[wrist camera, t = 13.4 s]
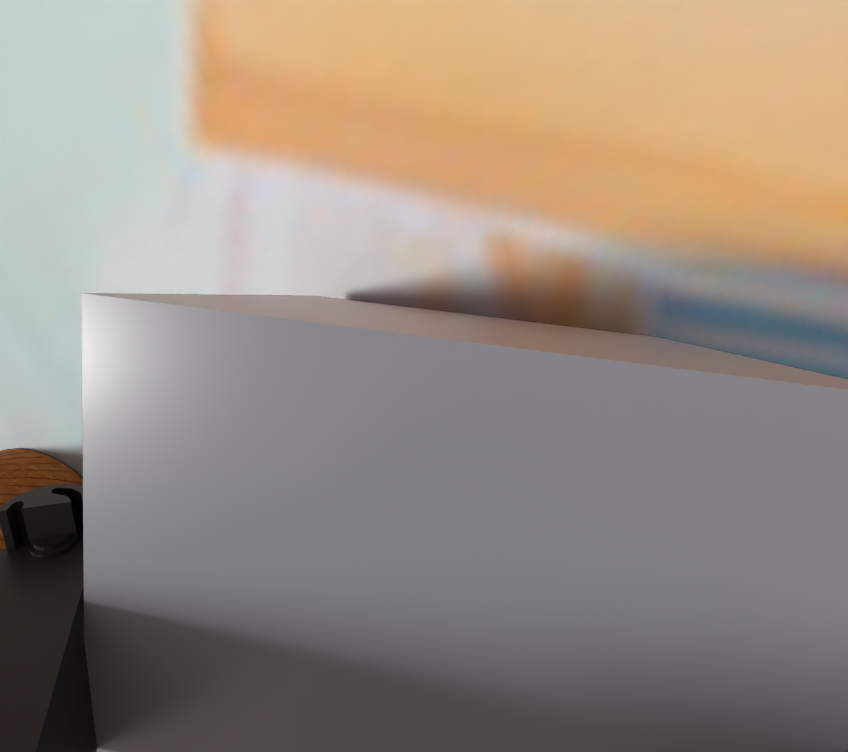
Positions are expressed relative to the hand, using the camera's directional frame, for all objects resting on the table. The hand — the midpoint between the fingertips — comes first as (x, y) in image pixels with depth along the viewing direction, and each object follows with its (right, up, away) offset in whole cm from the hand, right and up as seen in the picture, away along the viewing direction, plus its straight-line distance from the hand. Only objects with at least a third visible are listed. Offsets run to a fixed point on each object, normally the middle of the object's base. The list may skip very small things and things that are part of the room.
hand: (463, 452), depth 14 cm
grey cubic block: (0, -1, +1) cm, 1 cm away
